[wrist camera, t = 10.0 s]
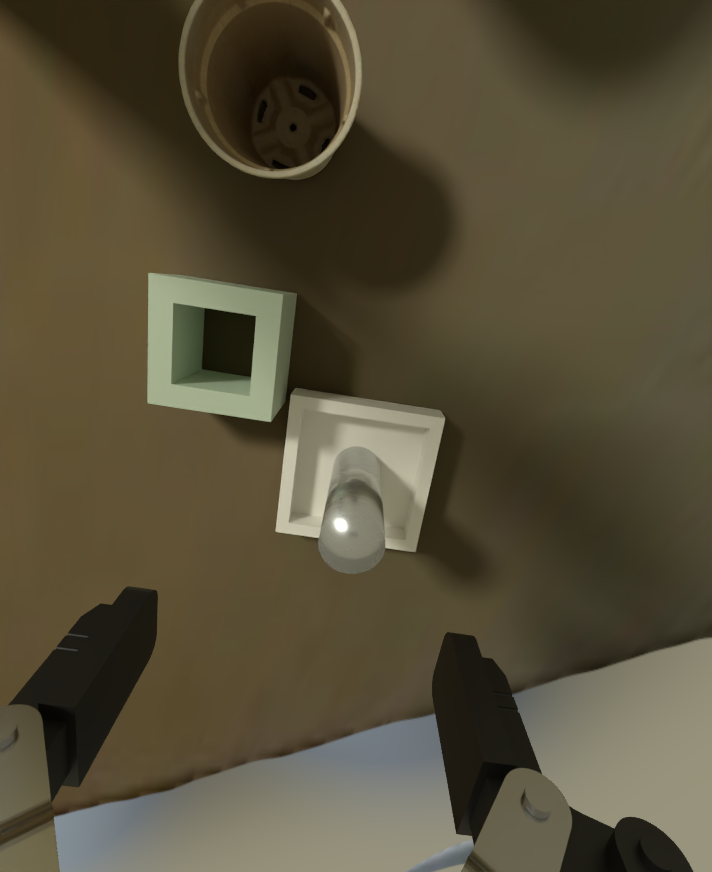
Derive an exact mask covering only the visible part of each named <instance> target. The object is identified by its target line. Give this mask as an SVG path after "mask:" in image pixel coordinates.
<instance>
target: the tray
mask: <svg viewBox="0 0 712 872" xmlns="http://www.w3.org/2000/svg"><path fill="white" fill-rule="evenodd" d="M444 422H445V417H444V415H443V414H442V412H441V410H436V409H430V408H423V407H417V406H411V405H404V404H398V403H391V402H385V401H378V400H372V399H366V398H359V397H353V396H346V395H340V394H334V393H327V392H321V391H314V390H308V389H301V388H295V389H294V391H293V392H292V393H291V396H290V406H289V415H288V424H287V433H286V442H285V451H284V460H283V469H282V478H281V487H280V496H279V505H278V514H277V523H276V532H281V533H288V534H295V535H301V536H308V537H315V538H319V535H320V530H321V525H322V520H323V515H324V510H325V505H326V500H327V495H328V489H329V484H330V479H331V474H332V469H333V464H334V461H335V458H336V457H337V455H338V454H339V453H340V452H341V451H343V450H344V449H346V448H349V447H354V446H359V447H364V448H367V449H369V450H370V451H372V452H373V453H374V454H375V455H376V457H377V458H378V460H379V463H380V471H381V486H382V500H383V514H384V529H385V545H386V546H385V548H389V549H396V550H403V551H410V552H416V547H417V543H418V538H419V534H420V529H421V525H422V521H423V516H424V512H425V507H426V503H427V498H428V494H429V489H430V485H431V480H432V476H433V471H434V467H435V463H436V458H437V454H438V449H439V445H440V440H441V436H442V431H443V427H444Z"/></svg>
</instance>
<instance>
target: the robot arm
mask: <svg viewBox="0 0 712 872" xmlns="http://www.w3.org/2000/svg"><path fill="white" fill-rule="evenodd" d="M157 603H158V594H157V591H156V590H151V589H144V588H136V587H129V586H128V587H126V588H125V589H124V590H123V591H122V592H121V594H120V595H119V596H118V598H117V599H116V600H115V602H114V603H113V604H112V605H108V604H99V605H98V606H96V607H95V608H93V609H92V610H90V611H89V612H87V613H86V614H84V615H83V616H81V617H80V619H79V620H78V621H77V622H76V624H75V625H74V626H73V627H72V628H71V630H70V631H69V632H68V635H67V636H65V637H64V638H63V639H62V641H61V642H60V643H59V644H58V645H57V648H56V650H53V652H52V653H51V654H50V655H49V656H48V658H47V659H46V660H45V661H44V663H43V664H42V665H41V666H40V667H39V669H38V670H37V671H36V672H35V673H34V675H33V676H32V677H31V678H30V680H29V681H28V682H27V683H26V684H25V686H24V687H23V688H22V689H21V691H20V692H19V693H18V694H17V695H16V697H15V698H14V699H13V700H12V701H11V703H10V704H9V705H8V706H4V707H1V708H0V872H60V870H59V861H58V852H57V843H56V835H55V825H54V816H53V808H52V804H51V803H52V801H53V799H54V798H55V796H56V794H57V793H58V791H59V789H60V787H61V786H62V785H64V786H72V787H79V786H80V785H81V783H82V781H83V779H84V777H85V776H86V774H87V772H88V770H89V768H90V766H91V765H92V763H93V761H94V759H95V757H96V756H97V754H98V752H99V750H100V748H101V746H102V745H103V743H104V741H105V739H106V737H107V736H108V734H109V732H110V730H111V728H112V726H113V725H114V723H115V721H116V719H117V717H118V716H119V714H120V712H121V710H122V708H123V706H124V705H125V703H126V701H127V699H128V697H129V696H130V694H131V692H132V690H133V688H134V686H135V685H136V683H137V681H138V679H139V677H140V676H141V674H142V672H143V670H144V668H145V666H146V665H147V663H148V661H149V659H150V657H151V655H152V652H153V649H154V646H155V642H156V636H157ZM432 697H433V703H434V709H435V715H436V720H437V726H438V732H439V737H440V743H441V749H442V754H443V760H444V766H445V772H446V777H447V783H448V789H449V795H450V800H451V806H452V812H453V817H454V823H455V829H456V834H461V835H469V836H472V838H473V843H474V848H473V850H472V852H471V854H470V855H469V857H468V859H467V861H466V863H465V865H464V867H463V869H462V871H461V872H693V870H692V868H691V866H690V864H689V863H688V861H687V859H686V858H685V856H684V855H683V853H682V852H681V850H680V849H679V848H678V847H677V845H676V844H675V843H674V842H673V841H672V840H671V839H670V838H669V837H668V836H667V835H666V834H665V833H664V832H662V831H661V830H660V829H659V828H657V827H656V826H654V825H652V824H651V823H649V822H647V821H645V820H643V819H640V818H636V817H626V818H623V819H621V820H620V821H619V822H618V823H617V825H616V827H615V829H614V828H612V827H610V826H608V825H605V824H603V823H601V822H599V821H597V820H595V819H593V818H590V817H588V816H586V815H584V814H582V813H580V812H578V811H576V810H574V809H573V808H571V807H570V806H569V805H568V803H567V801H566V799H565V797H564V796H563V794H562V793H561V791H560V790H559V789H558V788H557V786H556V785H555V784H554V783H552V781H550V780H549V779H548V778H547V777H545V776H544V775H542V773H541V770H540V768H539V765H538V762H537V760H536V757H535V754H534V751H533V749H532V746H531V743H530V741H529V738H528V735H527V732H526V730H525V727H524V724H523V722H522V719H521V716H520V713H518V708H517V705H516V703H515V700H514V697H512V692H511V689H510V686H509V684H508V681H507V678H506V675H505V674H504V673H503V672H502V670H501V669H500V668H499V667H498V665H497V664H496V663H495V661H494V660H493V659H491V658H483V657H482V656H481V653H480V650H479V647H478V644H477V641H476V638H475V637H474V636H471V635H464V634H457V633H450V632H447V633H446V634H445V636H444V639H443V643H442V646H441V650H440V653H439V657H438V660H437V663H436V667H435V670H434V674H433V681H432Z"/></svg>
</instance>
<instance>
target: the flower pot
mask: <svg viewBox="0 0 712 872" xmlns="http://www.w3.org/2000/svg"><path fill="white" fill-rule="evenodd" d="M179 79H180V84H181V89H182V95H183V98H184V102H185V105H186V108H187V111H188V113H189V115H190V117H191V119H192V122H193V124H194V125H195V127H196V129H197V130H198V132H199V134H200V135H201V137H202V138H203V139H204V141H205V142H206V143H207V144H208V145H209V147H210V148H211V149H212V150H213V151H214V152H215V153H216V154H217V155H218V156H220V157H221V158H222V159H223V160H225V161H226V162H227V163H229V164H230V165H232V166H233V167H235V168H237V169H239V170H241V171H243V172H245V173H248V174H251V175H254V176H258V177H263V178H272V179H283V178H285V179H290V180H301V179H305V178H309V177H311V176H313V175H315V174H317V173H318V172H320V171H321V170H322V169H323V168H324V167H325V166H326V165H327V164H328V162H329V161H330V160H331V158H332V156H333V154H334V152H335V151H336V150H337V149H338V147H339V146H340V145H341V143H342V142H343V140H344V139H345V137H346V136H347V134H348V132H349V130H350V128H351V126H352V124H353V121H354V119H355V116H356V113H357V109H358V105H359V101H360V95H361V89H362V61H361V53H360V48H359V43H358V39H357V35H356V32H355V29H354V27H353V24H352V22H351V19H350V17H349V15H348V13H347V11H346V9H345V8H344V6H343V4H342V3H341V1H340V0H195V1H194V3H193V4H192V6H191V7H190V10H189V13H188V15H187V17H186V21H185V23H184V27H183V31H182V35H181V41H180V47H179ZM301 86H306V87H307V88H309V89H310V90H311V91H312V92H314V93H315V94H316V97H315V99H314V100H312V99H310V98H308V97H306V96H305V95H303V94H301V93H299V88H300V87H301ZM263 101H266V103H267V108H266V110H265V112H264V115H263V118H262V121H261V122H258V113H259V109H260V106H261V104H262V102H263ZM292 124H295V125H296V130H295V131H291V129H290V126H291V125H292ZM326 138H328V139H330V140H329V143H328V146H327V148H326V149H325V150H324V151H323V152H322V153H321V154H320V152H321V150H322V145H323V144H324V142H325V140H326ZM273 160H276V161H277V162H279V163H281V164H283V165H285V166H288V167H289V168H288V169H276V168H275V167H274V166H273V163H272V161H273Z"/></svg>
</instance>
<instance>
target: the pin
mask: <svg viewBox="0 0 712 872" xmlns="http://www.w3.org/2000/svg"><path fill="white" fill-rule="evenodd" d="M318 546H319V552H320V554H321V556H322V558H323V559H324V561H325V562H326V563H327V564H328V565H329V566H330V567H332V568H333V569H335V570H337V571H340V572H343V573H349V574H357V573H362V572H365V571H368V570H370V569H372V568H373V567H374V566H376V565H377V564H378V563H379V561H380V560H381V559H382V557H383V555H384V552H385V546H386V545H385V529H384V514H383V500H382V486H381V471H380V463H379V460H378V458H377V457H376V455H375V454H374V453H373V452H372V451H370V450H369V449H367V448H364V447H359V446H354V447H349V448H346V449H344V450H343V451H341V452H340V453H339V454H338V455H337V457H336V458H335V461H334V464H333V469H332V474H331V479H330V484H329V489H328V495H327V500H326V505H325V510H324V515H323V520H322V525H321V530H320V535H319V541H318Z"/></svg>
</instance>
